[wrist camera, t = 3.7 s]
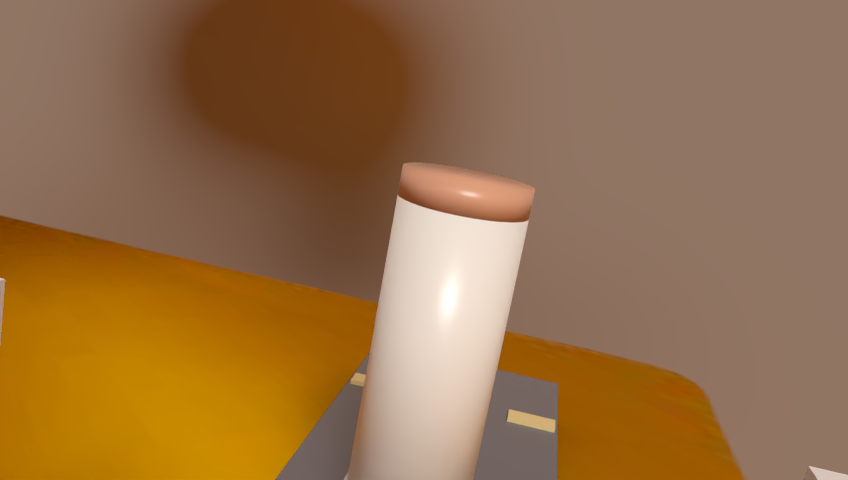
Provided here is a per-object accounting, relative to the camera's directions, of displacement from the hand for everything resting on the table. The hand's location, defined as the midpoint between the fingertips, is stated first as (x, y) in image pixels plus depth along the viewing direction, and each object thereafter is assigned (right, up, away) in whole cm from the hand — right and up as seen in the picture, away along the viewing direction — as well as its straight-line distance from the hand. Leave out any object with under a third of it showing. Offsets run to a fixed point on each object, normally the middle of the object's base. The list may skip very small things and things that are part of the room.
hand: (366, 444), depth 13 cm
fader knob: (0, -7, +11) cm, 13 cm away
